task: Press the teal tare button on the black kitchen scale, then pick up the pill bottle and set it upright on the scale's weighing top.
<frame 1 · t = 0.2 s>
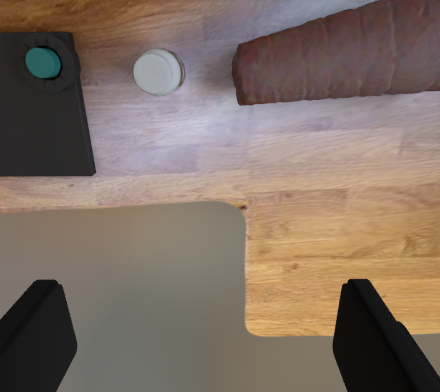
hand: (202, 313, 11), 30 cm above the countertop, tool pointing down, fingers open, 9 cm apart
scale: (35, 109, 37), on the countertop
food: (328, 50, 34), on the countertop
pill bottle: (167, 71, 36), on the countertop
tare button: (43, 63, 32), point 3 cm above the countertop, slide at 0.1 cm
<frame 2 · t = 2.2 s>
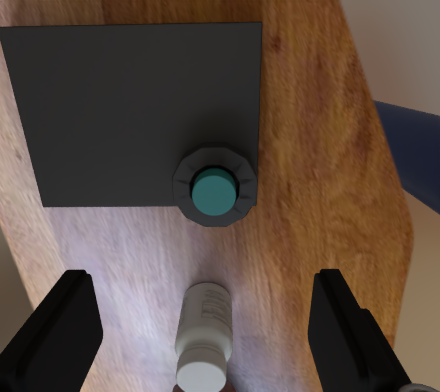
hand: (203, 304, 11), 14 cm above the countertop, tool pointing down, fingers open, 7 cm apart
scale: (144, 122, 22), on the countertop
pill bottle: (207, 299, 29), on the countertop
tare button: (214, 191, 21), point 3 cm above the countertop, slide at 0.1 cm
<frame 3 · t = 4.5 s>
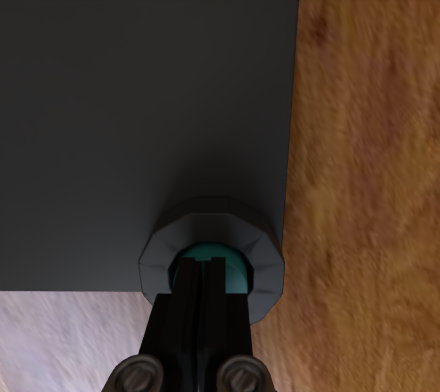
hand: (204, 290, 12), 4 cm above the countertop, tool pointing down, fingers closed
scale: (97, 160, 14), on the countertop
tare button: (211, 277, 12), point 3 cm above the countertop, slide at -0.4 cm, touching gripper
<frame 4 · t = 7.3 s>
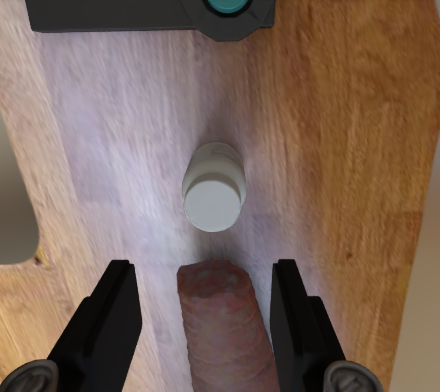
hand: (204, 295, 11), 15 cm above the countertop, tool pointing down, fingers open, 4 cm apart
food: (239, 332, 33), on the countertop
pill bottle: (216, 166, 26), on the countertop
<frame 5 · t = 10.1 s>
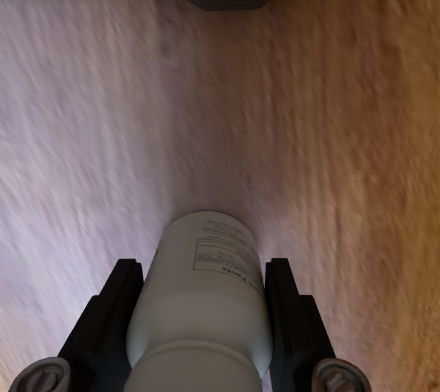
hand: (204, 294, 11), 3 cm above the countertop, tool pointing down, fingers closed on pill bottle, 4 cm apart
pill bottle: (208, 250, 14), on the countertop, touching gripper
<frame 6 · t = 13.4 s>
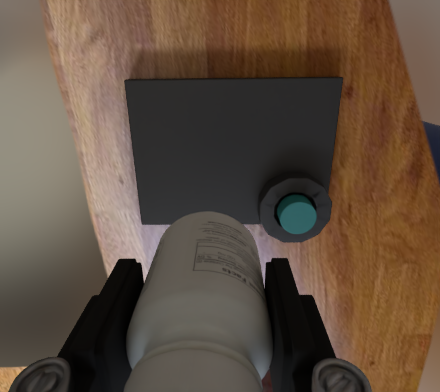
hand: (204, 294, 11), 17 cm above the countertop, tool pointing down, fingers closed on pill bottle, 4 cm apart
scale: (232, 153, 26), on the countertop
pill bottle: (208, 250, 14), point 14 cm above the countertop, touching gripper
tare button: (296, 214, 25), point 3 cm above the countertop, slide at 0.1 cm
when the fingers open (4 cm above the countertop, at t = 16.8 s): pill bottle stays where it is, resting on scale.
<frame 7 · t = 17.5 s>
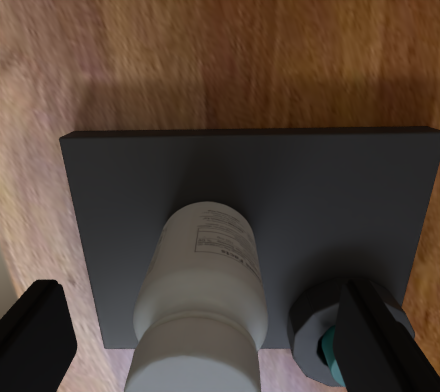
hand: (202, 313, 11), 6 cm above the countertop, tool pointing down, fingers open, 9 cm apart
scale: (246, 243, 16), on the countertop
pill bottle: (208, 239, 15), point 1 cm above the countertop, touching scale
tare button: (355, 353, 15), point 3 cm above the countertop, slide at 0.1 cm
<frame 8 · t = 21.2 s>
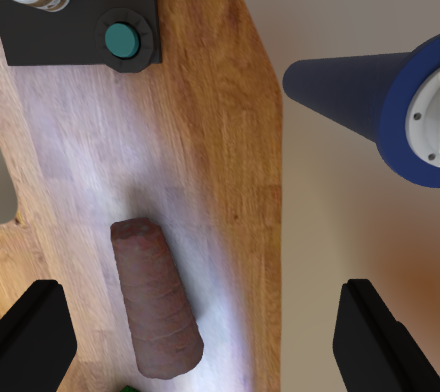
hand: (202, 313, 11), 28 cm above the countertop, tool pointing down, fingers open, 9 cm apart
scale: (78, 0, 32), on the countertop
food: (165, 276, 45), on the countertop
tare button: (122, 40, 30), point 3 cm above the countertop, slide at 0.1 cm
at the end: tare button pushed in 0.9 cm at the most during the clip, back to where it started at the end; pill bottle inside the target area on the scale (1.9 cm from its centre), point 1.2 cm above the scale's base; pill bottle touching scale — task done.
